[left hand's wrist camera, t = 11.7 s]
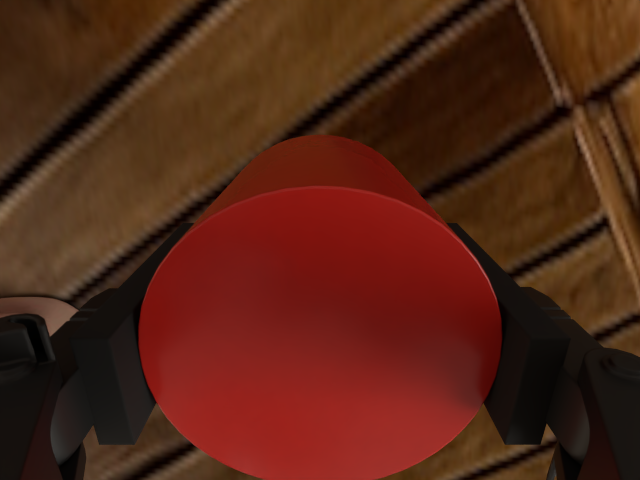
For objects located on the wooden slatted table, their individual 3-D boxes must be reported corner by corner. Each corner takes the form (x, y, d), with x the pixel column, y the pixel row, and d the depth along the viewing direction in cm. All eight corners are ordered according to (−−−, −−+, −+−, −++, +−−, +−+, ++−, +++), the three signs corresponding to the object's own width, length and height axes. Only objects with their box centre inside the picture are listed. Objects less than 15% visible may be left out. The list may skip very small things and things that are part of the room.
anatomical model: (113, 364, 25) (74, 475, 29) (139, 329, 29) (101, 431, 33) (-104, 286, 23) (-116, 416, 27) (-46, 258, 27) (-64, 377, 31)
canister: (210, 137, 14) (97, 191, 7) (424, 131, 14) (534, 180, 7) (233, 319, 17) (170, 490, 10) (411, 315, 17) (478, 484, 10)
